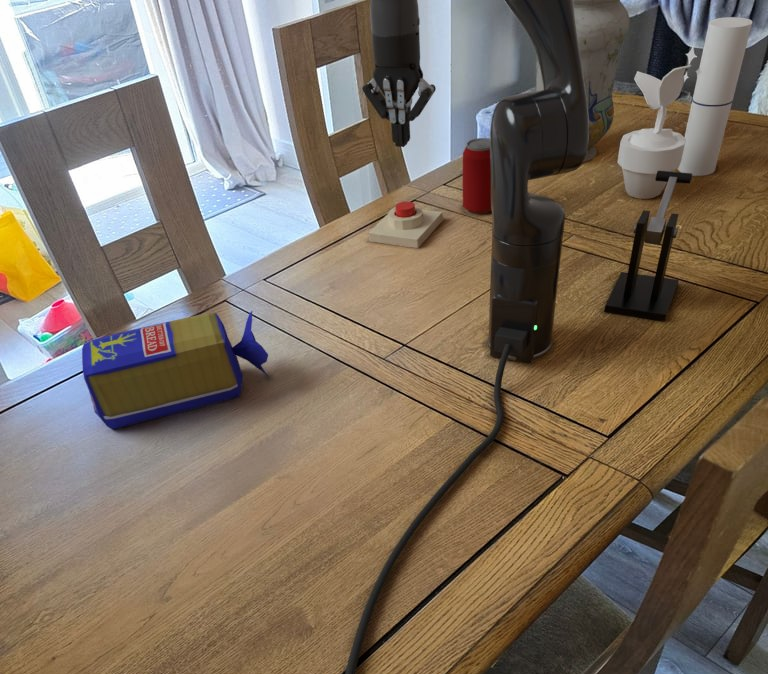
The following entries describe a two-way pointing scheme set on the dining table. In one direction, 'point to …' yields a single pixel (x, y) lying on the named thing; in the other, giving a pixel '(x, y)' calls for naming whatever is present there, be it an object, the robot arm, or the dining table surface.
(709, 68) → the cylindrical container
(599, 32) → the vase
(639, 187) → the potted plant
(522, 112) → the robot arm
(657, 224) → the lever
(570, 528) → the dining table surface
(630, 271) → the bracket
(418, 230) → the button box
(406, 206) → the button
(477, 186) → the beverage can
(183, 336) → the bread
